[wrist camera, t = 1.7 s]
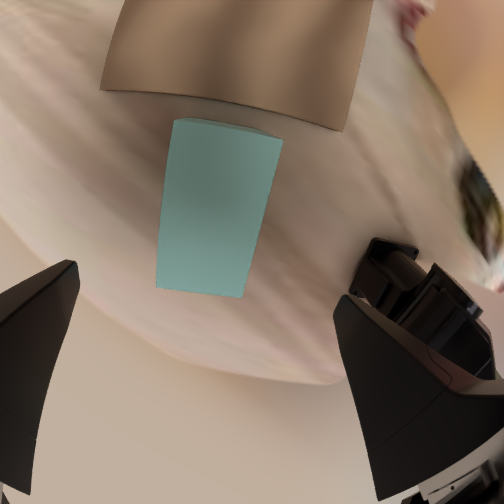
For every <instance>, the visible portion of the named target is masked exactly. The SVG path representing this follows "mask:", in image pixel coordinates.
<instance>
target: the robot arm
mask: <svg viewBox="0 0 504 504" xmlns="http://www.w3.org/2000/svg"><path fill="white" fill-rule="evenodd" d="M376 243H377V245H375V244H376ZM418 253H419V250H418V249H417V248H416V247H414V246H410V245H405V244H401V243H397V242H392V241H388V240H383V239H379V238H375V239H373V240H372V242H371V244H370V246H369V249H368V251H367V253H366V256H365V258H364V260H363V262H362V265H361V267H360V269H359V271H358V273H357V275H356V277H355V280H354V282H353V284H352V286H351V288H350V290H349V294H344V295H342V296H341V298H340V300H339V302H338V304H337V306H336V308H335V310H334V313H333V320H334V324H335V329H336V334H337V339H338V344H339V349H340V353H341V357H342V360H343V364H344V367H345V370H346V374H347V377H348V380H349V384H350V388H351V391H352V395H353V398H354V402H355V406H356V409H357V413H358V417H359V421H360V425H361V428H362V432H363V436H364V440H365V445H366V449H367V452H368V458H369V462H370V467H371V471H372V476H373V481H374V486H375V491H376V496H377V499H378V501H381V500H384V499H386V498H389V497H391V496H394V495H396V494H398V493H401V492H403V491H405V490H407V489H409V488H411V487H414V486H416V485H418V487H419V490H420V491H418V492H416V493H414V494H413V495H411V496H409V497H407V498H405V499H403V500H402V502H401V504H504V379H502V377H501V376H500V375H499V373H498V372H497V370H496V367H495V358H494V350H493V343H492V337H491V332H490V330H489V329H488V328H487V327H486V325H485V324H484V323H483V322H482V321H481V320H480V319H479V316H480V315H481V314H482V313H483V310H482V309H481V307H480V306H479V305H478V304H477V302H476V301H475V300H474V299H473V298H472V296H471V295H470V294H469V293H468V292H467V291H466V290H465V289H464V288H463V287H462V286H461V285H460V284H459V283H458V282H457V281H456V280H455V279H454V278H452V277H451V276H450V275H449V274H448V273H447V272H446V271H444V270H443V269H442V268H441V267H440V266H438V265H437V264H436V263H435V262H434V264H433V265H432V267H431V270H430V271H429V273H428V274H427V273H426V272H425V271H424V270H423V269H422V268H421V267H420V266H419V265H418V264H417V263H416V262H415V259H416V257H417V255H418ZM79 289H80V279H79V272H78V265H77V263H76V262H75V261H72V260H63V261H61V262H59V263H57V264H55V265H53V266H51V267H49V268H47V269H45V270H43V271H41V272H39V273H37V274H35V275H33V276H32V277H30V278H28V279H26V280H24V281H22V282H20V283H19V284H17V285H15V286H13V287H11V288H9V289H8V290H6V291H4V292H2V293H1V294H0V504H9V502H8V500H7V498H6V496H5V495H4V493H3V491H2V490H3V483H4V484H6V485H8V486H10V487H12V488H14V489H16V490H18V491H20V492H23V493H25V494H27V495H30V492H31V478H32V468H33V459H34V453H35V446H36V438H37V433H38V428H39V423H40V418H41V414H42V409H43V405H44V401H45V397H46V393H47V390H48V386H49V383H50V379H51V376H52V372H53V369H54V366H55V363H56V360H57V357H58V354H59V351H60V348H61V346H62V343H63V340H64V337H65V335H66V332H67V329H68V326H69V322H70V319H71V316H72V312H73V309H74V305H75V302H76V299H77V296H78V293H79ZM354 291H355V292H354ZM353 292H354V293H353ZM359 298H366V299H367V301H368V302H369V304H370V305H371V306H370V305H368V304H367V303H365V302H364V301H362V300H361V299H359Z"/></svg>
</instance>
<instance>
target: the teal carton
mask: <svg viewBox="0 0 504 504" xmlns="http://www.w3.org/2000/svg"><path fill="white" fill-rule="evenodd" d="M283 141H284V140H282V139H280V138H278V137H275V136H273V135H271V134H268V133H266V132H264V131H262V130H258V129H254V128H249V127H244V126H240V125H234V124H229V123H224V122H218V121H212V120H206V119H199V118H192V117H187V118H181V119H177V120H174V123H173V129H172V134H171V140H170V146H169V152H168V159H167V165H166V172H165V180H164V188H163V196H162V205H161V215H160V225H159V238H158V252H157V270H156V287H158V288H165V289H172V290H179V291H187V292H195V293H203V294H211V295H220V296H229V297H238V298H242V295H243V292H244V288H245V284H246V280H247V277H248V273H249V269H250V265H251V262H252V258H253V254H254V250H255V247H256V243H257V239H258V235H259V232H260V228H261V224H262V220H263V217H264V213H265V209H266V205H267V201H268V198H269V194H270V190H271V186H272V183H273V179H274V175H275V171H276V167H277V164H278V160H279V156H280V152H281V148H282V145H283Z"/></svg>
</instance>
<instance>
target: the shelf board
mask: <svg viewBox="0 0 504 504" xmlns="http://www.w3.org/2000/svg"><path fill="white" fill-rule="evenodd" d="M372 5H373V0H125V2H124V5H123V7H122V10H121V13H120V16H119V18H118V21H117V24H116V27H115V31H114V34H113V37H112V40H111V44H110V47H109V51H108V55H107V59H106V63H105V67H104V71H103V76H102V81H101V86H100V90H106V91H140V92H155V93H167V94H177V95H185V96H193V97H200V98H207V99H213V100H219V101H225V102H230V103H235V104H240V105H245V106H250V107H254V108H259V109H263V110H267V111H271V112H275V113H279V114H283V115H287V116H290V117H294V118H297V119H301V120H304V121H307V122H311V123H314V124H317V125H320V126H323V127H326V128H329V129H332V130H335V131H339V132H343V129H344V125H345V121H346V118H347V114H348V110H349V107H350V103H351V99H352V95H353V91H354V87H355V83H356V79H357V75H358V71H359V67H360V62H361V58H362V54H363V49H364V45H365V40H366V35H367V31H368V26H369V21H370V15H371V10H372Z"/></svg>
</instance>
